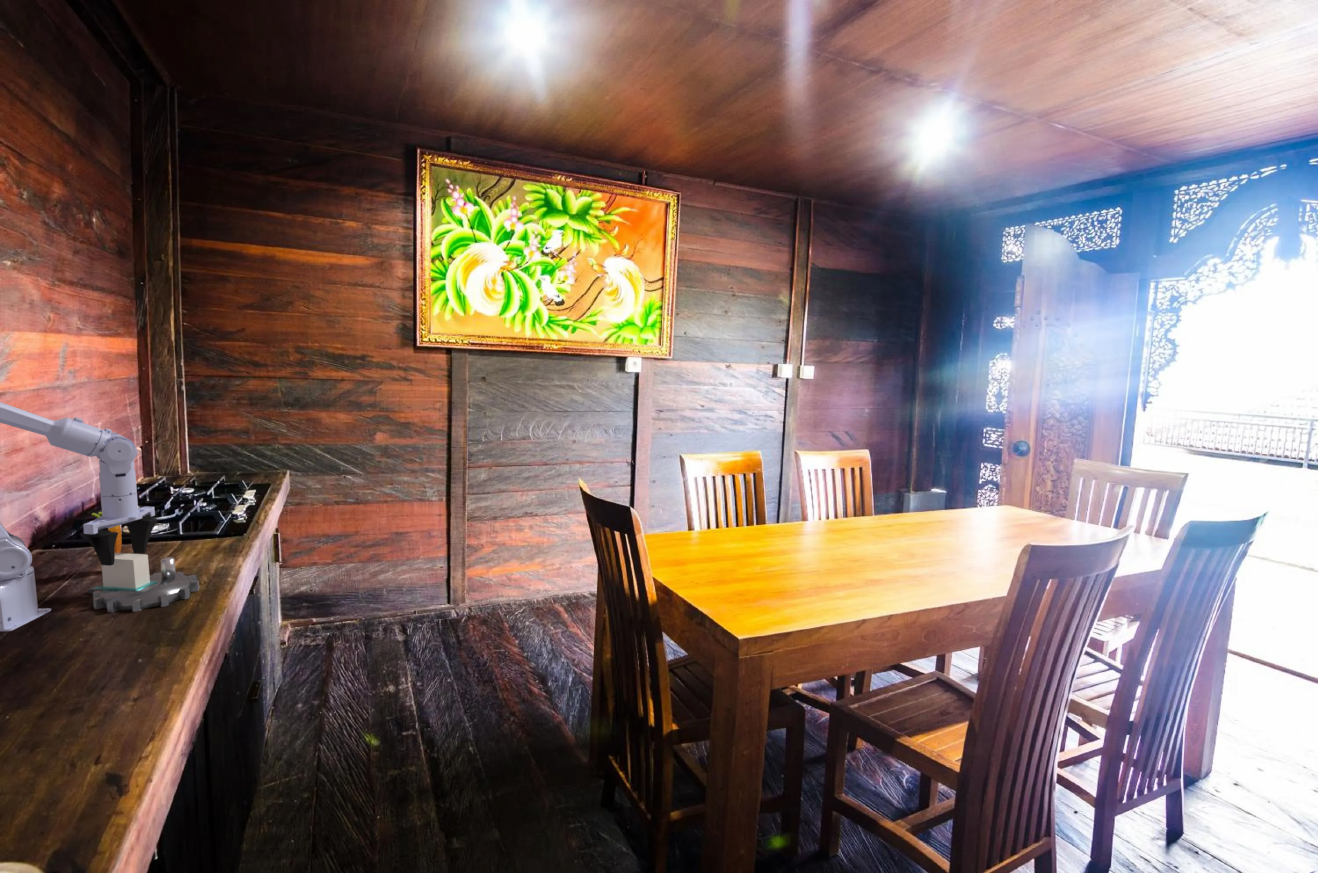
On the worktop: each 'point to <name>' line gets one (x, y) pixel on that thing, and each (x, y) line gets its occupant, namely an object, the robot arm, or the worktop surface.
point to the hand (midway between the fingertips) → (124, 558)
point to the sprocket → (148, 591)
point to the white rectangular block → (127, 571)
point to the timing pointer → (91, 590)
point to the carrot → (113, 529)
